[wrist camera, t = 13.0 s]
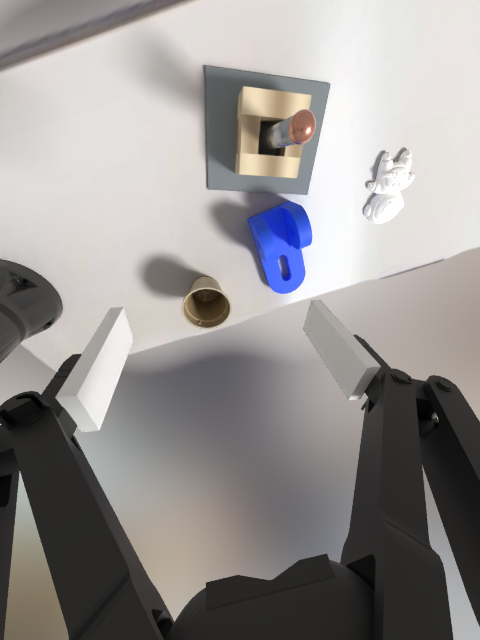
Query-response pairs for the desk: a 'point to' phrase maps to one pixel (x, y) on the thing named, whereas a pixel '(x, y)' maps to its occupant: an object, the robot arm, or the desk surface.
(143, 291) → the desk surface
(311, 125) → the copper-tipped rod
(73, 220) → the desk surface
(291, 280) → the bracket
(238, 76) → the mat
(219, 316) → the flower pot
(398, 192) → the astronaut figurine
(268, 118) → the block with square hole
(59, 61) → the desk surface
